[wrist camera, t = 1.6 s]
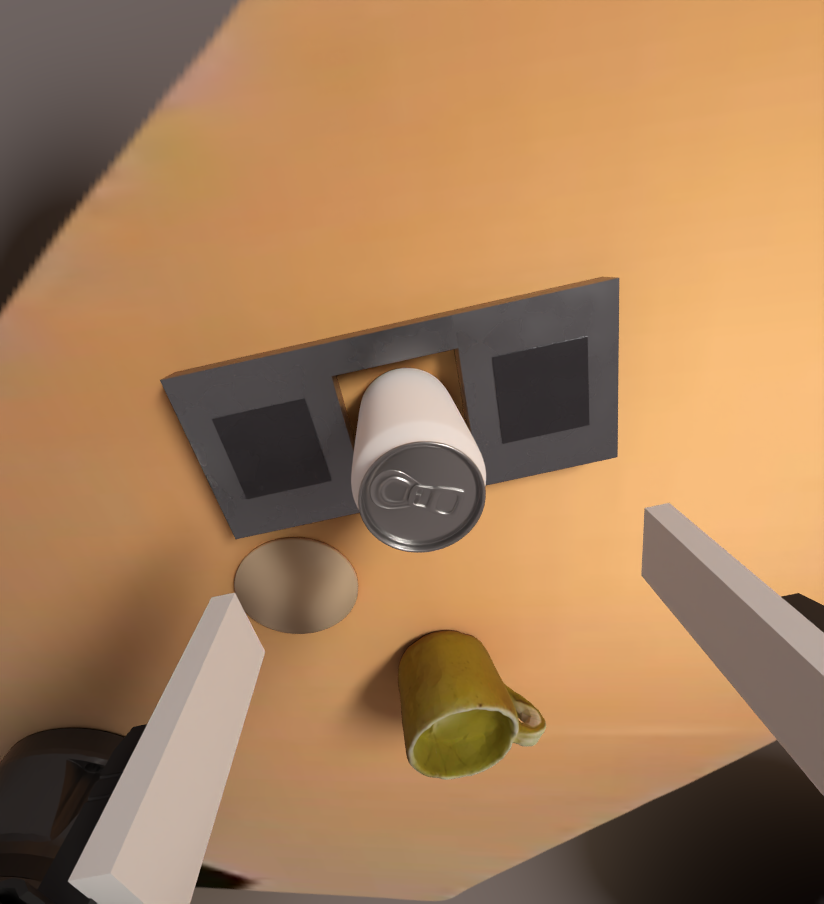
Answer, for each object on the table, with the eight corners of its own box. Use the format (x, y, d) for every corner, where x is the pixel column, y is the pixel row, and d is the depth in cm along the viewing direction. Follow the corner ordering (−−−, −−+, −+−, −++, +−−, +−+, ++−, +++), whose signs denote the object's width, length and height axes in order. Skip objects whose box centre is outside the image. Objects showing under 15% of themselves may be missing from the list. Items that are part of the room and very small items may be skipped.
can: (371, 354, 27) (366, 415, 16) (464, 379, 28) (517, 451, 17) (350, 442, 30) (334, 546, 19) (436, 462, 31) (468, 570, 20)
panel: (243, 523, 32) (235, 540, 30) (174, 372, 27) (159, 380, 25) (603, 445, 31) (618, 457, 29) (602, 276, 26) (620, 278, 24)
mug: (363, 705, 39) (401, 811, 30) (404, 606, 38) (456, 683, 29) (466, 712, 44) (525, 804, 35) (504, 625, 43) (573, 695, 34)
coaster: (261, 640, 37) (259, 643, 36) (216, 551, 33) (214, 555, 32) (370, 616, 37) (370, 620, 36) (339, 525, 32) (339, 528, 32)
